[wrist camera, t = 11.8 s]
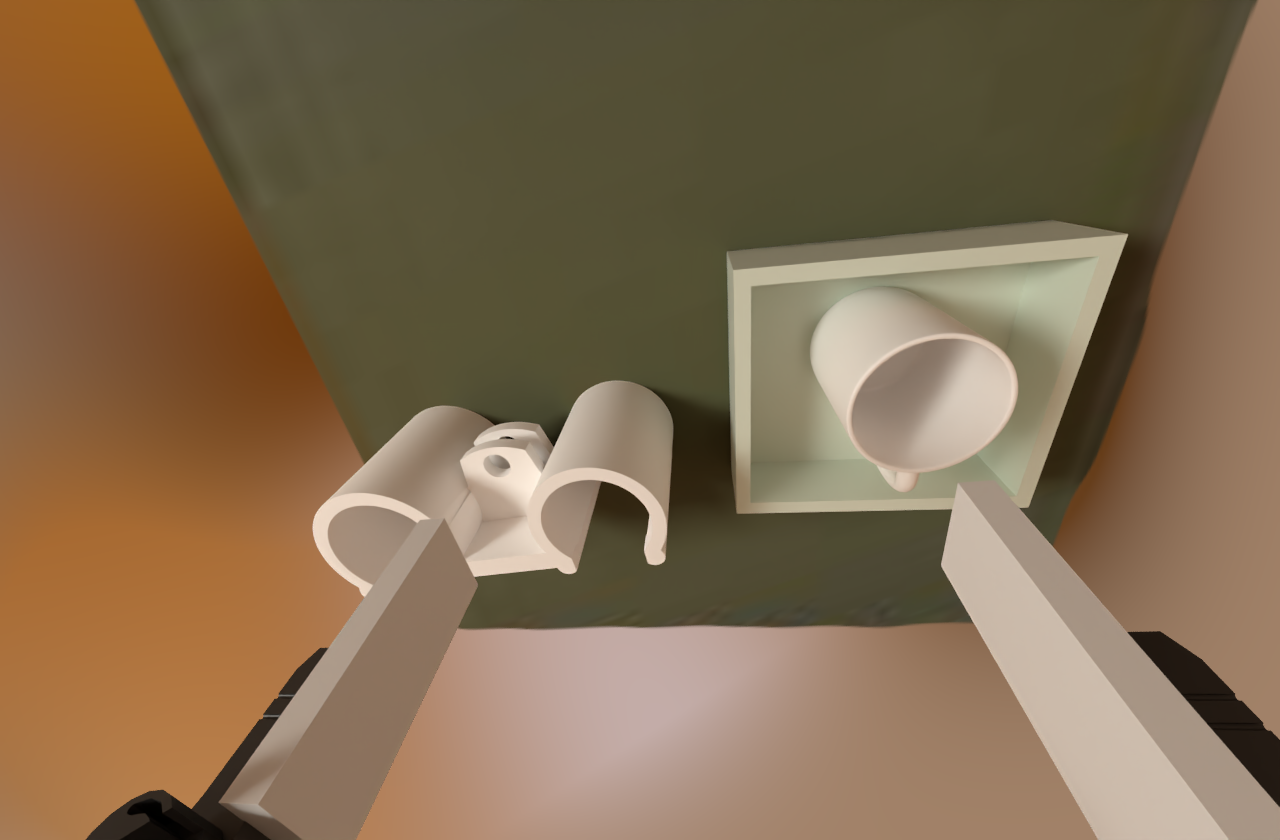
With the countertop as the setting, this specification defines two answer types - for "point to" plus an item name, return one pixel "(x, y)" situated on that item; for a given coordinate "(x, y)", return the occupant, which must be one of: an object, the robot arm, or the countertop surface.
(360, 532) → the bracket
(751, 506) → the tub
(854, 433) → the cup
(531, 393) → the countertop surface
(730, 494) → the countertop surface
